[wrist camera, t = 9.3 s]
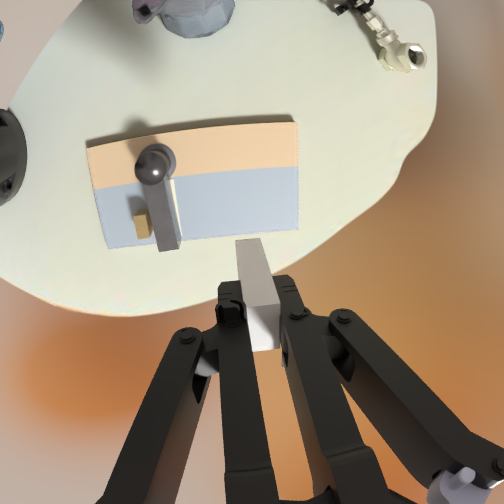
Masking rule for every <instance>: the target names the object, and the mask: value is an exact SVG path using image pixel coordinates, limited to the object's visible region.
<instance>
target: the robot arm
mask: <svg viewBox="0 0 504 504" xmlns="http://www.w3.org/2000/svg"><path fill="white" fill-rule="evenodd" d="M3 31H4V28H3V24H2V22H1V21H0V41H1V38H2V36H3ZM26 165H27V148H26V141H25V137H24V133H23V131H22V128H21V126H20V124H19V122H18V121H17V119H16V118H15V117H14V116H13V115H12V114H11V113H10V112H8V111H6V110H4V109H0V206H2V205H3V204H5V203H6V202H8V201H10V200H11V199H12V198H13V197H14V196H15V195H16V194H17V192H18V191H19V189H20V187H21V185H22V182H23V179H24V176H25V171H26ZM235 244H236V255H237V266H238V277H239V280H238V281H228V282H221V284H220V285H219V287H218V304H217V305H216V308H215V312H216V318H217V324H216V325H215V326H214V327H212V328H211V329H208V330H206V331H203V332H201V331H200V330H198V329H197V328H192V327H188V328H187V327H186V328H182V329H180V330H178V331H177V332H175V334H174V335H173V336H172V338H171V341H170V343H169V345H168V347H167V349H166V351H165V353H164V356H163V358H162V360H161V362H160V364H159V366H158V368H157V371H156V373H155V375H154V377H153V379H152V381H151V384H150V386H149V388H148V390H147V392H146V395H145V397H144V399H143V401H142V404H141V406H140V409H139V411H138V413H137V415H136V417H135V420H134V422H133V425H132V427H131V429H130V431H129V433H128V436H127V438H126V441H125V443H124V445H123V448H122V450H121V452H120V455H119V457H118V460H117V462H116V464H115V467H114V469H113V472H112V474H111V476H110V479H109V481H108V484H107V486H106V489H105V492H104V494H103V496H102V497H101V498H100V499H99V500H98V501H97V502H96V503H95V504H175V500H176V497H177V493H178V490H179V486H180V482H181V479H182V476H183V472H184V469H185V466H186V462H187V459H188V455H189V452H190V448H191V445H192V441H193V438H194V434H195V431H196V428H197V424H198V421H199V417H200V414H201V411H202V407H203V404H204V400H205V397H206V393H207V390H208V387H209V383H210V380H211V375H212V374H216V373H218V372H219V376H220V395H221V413H222V428H223V443H224V456H225V474H224V481H225V493H226V504H417V503H415V502H413V501H411V500H409V499H407V498H406V497H404V496H402V495H400V494H398V493H396V492H394V491H392V490H390V489H388V488H387V485H386V482H385V479H384V477H383V474H382V471H381V468H380V466H379V463H378V460H377V458H376V455H375V453H374V451H373V450H372V449H371V447H369V446H366V445H365V444H364V443H363V440H362V438H361V435H360V432H359V430H358V427H357V424H356V422H355V419H354V417H353V414H352V411H351V409H350V406H349V404H348V401H347V399H346V396H345V394H344V391H343V389H342V386H341V384H342V385H343V386H344V388H345V389H346V390H347V392H348V393H349V394H350V396H351V397H352V398H353V400H354V401H355V402H356V404H357V405H358V406H359V408H360V409H361V410H362V412H363V413H364V414H365V415H366V417H367V418H368V419H369V421H370V422H371V423H372V425H373V426H374V427H375V429H376V430H377V431H378V432H379V434H380V435H381V436H382V438H383V439H384V440H385V441H386V443H387V444H388V445H389V447H390V448H391V449H392V451H393V452H394V453H395V454H396V456H397V457H398V458H399V460H400V461H401V462H402V464H403V465H404V466H405V467H406V469H407V470H408V471H409V472H410V474H411V475H412V476H413V477H414V478H415V479H416V480H417V481H418V482H419V483H420V484H422V485H423V486H424V487H425V488H427V489H428V493H427V502H428V504H484V503H485V501H486V499H487V498H488V495H489V493H490V491H491V490H492V488H493V487H495V486H496V485H497V484H499V483H500V482H502V481H503V480H504V448H502V447H500V446H498V445H496V444H494V443H492V442H490V441H488V440H486V439H484V438H482V437H480V436H478V435H476V434H474V433H473V432H471V431H469V429H468V428H467V427H466V426H465V425H464V424H463V423H462V422H461V421H460V420H459V419H458V418H457V416H456V415H455V414H454V413H453V412H452V411H451V410H450V409H449V408H448V407H447V406H446V405H445V404H444V403H443V402H442V401H441V400H440V398H439V397H438V396H437V395H436V394H435V393H434V392H433V391H432V390H431V389H430V388H429V387H428V386H427V385H426V384H425V383H424V382H423V381H422V380H421V379H420V378H419V376H418V375H417V374H416V373H415V372H413V370H412V369H411V368H410V367H409V366H408V365H407V364H406V363H405V362H404V361H403V360H402V359H401V358H400V357H399V356H398V355H397V354H396V353H395V352H394V351H393V350H392V349H391V348H390V347H389V346H388V345H387V344H386V343H385V342H384V341H383V340H382V339H381V338H380V337H379V336H378V335H377V334H376V333H375V332H374V331H373V330H372V329H371V328H370V327H369V326H368V325H367V324H366V323H365V322H364V321H363V320H362V319H361V318H360V317H359V316H358V315H357V314H356V313H355V312H353V311H352V310H349V309H336V310H334V311H332V312H331V314H330V316H329V317H325V316H317V315H314V314H312V313H311V311H310V310H309V309H308V308H306V307H305V306H304V304H303V302H302V299H301V297H300V294H299V292H298V289H297V287H296V285H295V282H294V280H293V279H292V278H291V277H290V276H288V275H279V276H272V275H271V272H270V269H269V265H268V262H267V259H266V256H265V253H264V250H263V246H262V243H261V240H260V238H254V239H244V240H235ZM280 343H281V347H282V367H283V366H284V367H285V371H286V375H287V379H288V383H289V387H290V391H291V395H292V399H293V403H294V407H295V411H296V415H297V419H298V423H299V427H300V431H301V435H302V439H303V443H304V447H305V451H306V455H307V459H308V463H309V467H310V471H311V475H312V480H313V493H314V497H313V498H311V499H309V500H306V501H289V500H279V496H278V491H277V485H276V480H275V475H274V470H273V467H272V464H271V458H270V453H269V448H268V441H267V435H266V430H265V424H264V418H263V412H262V407H261V400H260V394H259V389H258V382H257V376H256V370H255V364H254V358H253V352H254V351H262V350H270V349H278V348H280Z"/></svg>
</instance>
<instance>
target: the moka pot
mask: <svg viewBox="0 0 504 504" xmlns="http://www.w3.org/2000/svg"><path fill="white" fill-rule="evenodd" d="M132 7H133V15H134V18H135V20H136V22H137V23H139V24H147V23H148V22H150V21H151V20H152V19H153V18H154V17H155V16H156V15H158V14H160V15H161V17H162V20H163V22H164V25H165V27H166V29H168V30H169V31H171V32H173V33H175V34H177V35H179V36H181V37H184V38H200V37H206V36H210V35H212V34H214V33H215V32H217V31H218V30H220V29H221V28H223V27H224V26H226V25H227V24H228V23H229V21H230V18H231V16H232V13H233V10H234V7H235V2H234V0H133V3H132Z"/></svg>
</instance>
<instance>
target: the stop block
mask: <svg viewBox="0 0 504 504" xmlns="http://www.w3.org/2000/svg"><path fill="white" fill-rule="evenodd" d="M133 219H134V224H135V229H136V233H137V238H138V239H144V238H150V237H151V235H152V232H153V227H152V222H151V218H150V214H149V210H148V208H145V209H138V210H137V211H136V213H135V214H134V216H133Z"/></svg>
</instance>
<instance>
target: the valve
mask: <svg viewBox="0 0 504 504" xmlns="http://www.w3.org/2000/svg"><path fill="white" fill-rule="evenodd" d="M373 3H374V0H370V1H369V3H366V2H365V1H363V0H347V1H345V3H344V4H342V5H340V6H338V7H337V8H335V9H334V10H333V11H334V12H335V13H336V14H337V15H338V16H339V15H341V14H342V13H344V12H345V11H346V10H348V9H350V10H351V11H352V12H354V13H356V14H358V15H359V16H362V15H364V16H365V18H366V19H367V20H368V21H367V22H366V24H367V25H368V26H369V27H370V28H371V29H372V31H373V30H376V31H377V34H376V35H377V37H378V38H377V39H376V41H377V42H378V44H379V45H380V46H381V47H382V46H384V48H383V49H381V51H380V54H379V58H378V61H379V62H380V64H381V65H382V66H383V68H384V69H385V70H386V71H398V72H401V73H408V72H411V71H413V70H414V69H424V68H425V65H426V62H427V55H426V53H425V51H424V50H423V48H422V47H421V46H420V45H419V44H418V43H401V42H400V41H399V40H398V39H397V38H398V35H397V34H396V32H395V31H394V30H391V31H389V29H388V28H384V27H383V26H382V25H383V24H384V23H383V22H382V21H381V20H380V18H379V17H378V16H375V17H374V16H373V15H372V14H371V13H370V12H369V11H370V10H372V9H371V8H370V7H371V6H372V5H373ZM344 10H345V11H344Z"/></svg>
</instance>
